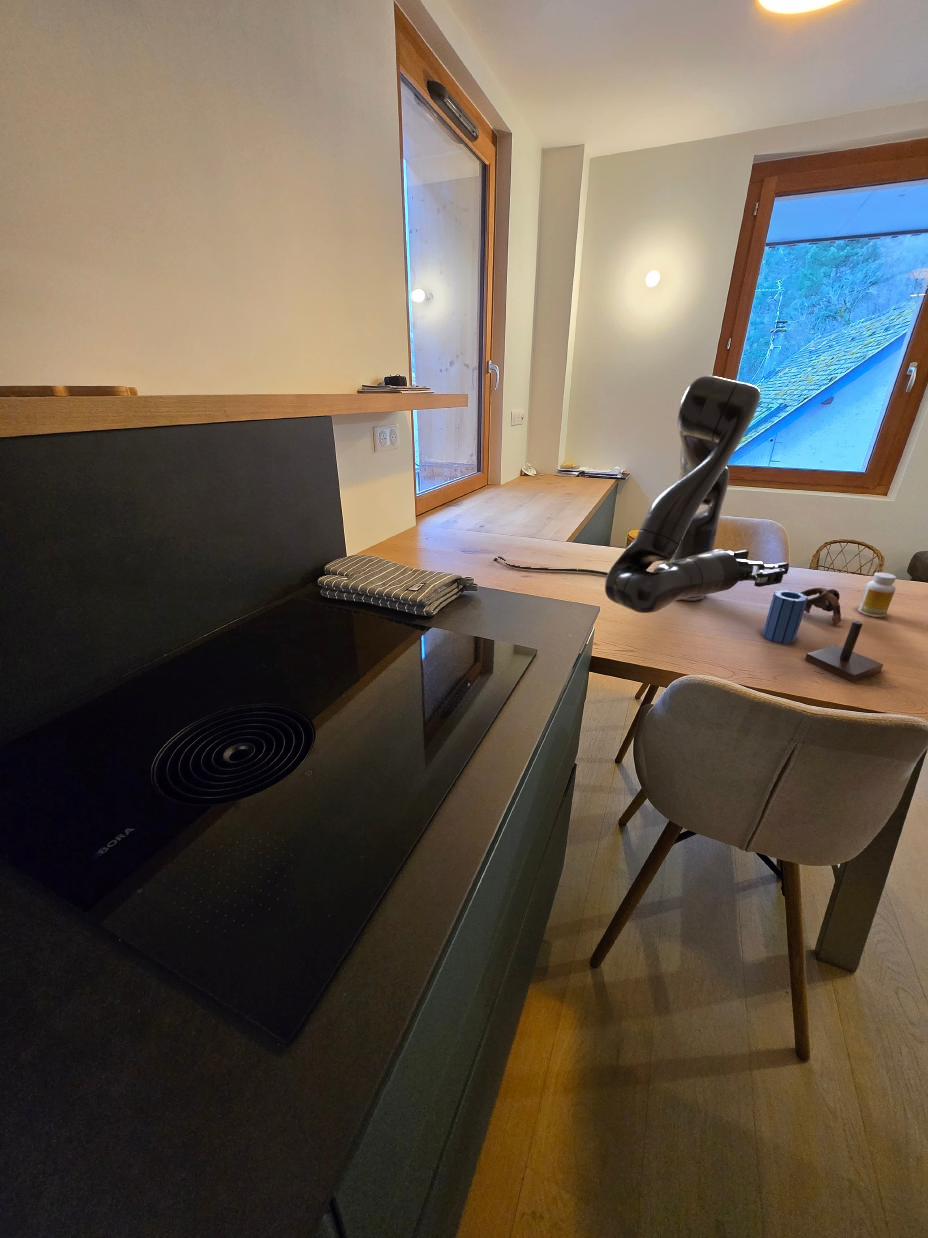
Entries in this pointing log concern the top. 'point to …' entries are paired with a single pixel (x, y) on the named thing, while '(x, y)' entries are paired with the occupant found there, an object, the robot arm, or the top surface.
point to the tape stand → (845, 658)
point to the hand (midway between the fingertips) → (765, 561)
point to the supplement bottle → (878, 595)
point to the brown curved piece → (824, 602)
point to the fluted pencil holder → (784, 616)
